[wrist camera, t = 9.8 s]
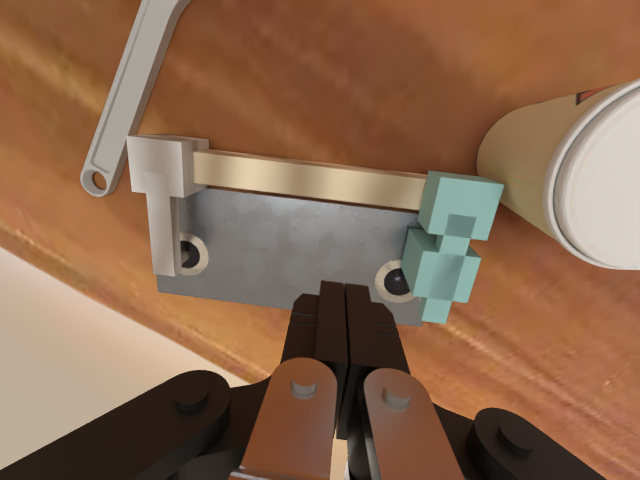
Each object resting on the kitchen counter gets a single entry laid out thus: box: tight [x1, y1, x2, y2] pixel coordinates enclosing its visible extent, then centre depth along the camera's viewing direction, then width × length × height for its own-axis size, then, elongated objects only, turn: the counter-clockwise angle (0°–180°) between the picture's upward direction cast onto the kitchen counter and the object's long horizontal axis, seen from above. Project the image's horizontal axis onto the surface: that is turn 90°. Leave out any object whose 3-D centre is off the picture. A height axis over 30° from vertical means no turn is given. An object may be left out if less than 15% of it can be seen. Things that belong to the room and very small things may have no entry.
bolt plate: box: [157, 186, 425, 327], centre depth 29 cm, size 26×11×1 cm, turn 84°
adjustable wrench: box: [80, 0, 191, 197], centre depth 24 cm, size 25×6×2 cm, turn 143°
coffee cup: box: [476, 78, 640, 270], centre depth 20 cm, size 9×9×12 cm
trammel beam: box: [126, 134, 428, 277], centre depth 26 cm, size 26×11×5 cm, turn 84°
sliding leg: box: [401, 171, 504, 324], centre depth 24 cm, size 4×11×5 cm, turn 174°
